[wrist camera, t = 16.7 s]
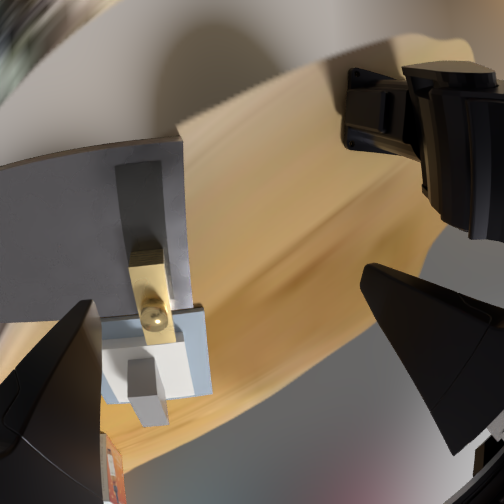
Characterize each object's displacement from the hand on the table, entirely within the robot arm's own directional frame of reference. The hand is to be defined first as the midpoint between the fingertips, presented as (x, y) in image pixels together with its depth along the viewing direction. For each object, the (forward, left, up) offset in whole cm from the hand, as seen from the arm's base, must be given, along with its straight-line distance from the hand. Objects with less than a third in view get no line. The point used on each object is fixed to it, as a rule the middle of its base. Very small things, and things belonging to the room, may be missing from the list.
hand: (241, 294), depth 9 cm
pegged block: (+3, +6, -9) cm, 11 cm away
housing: (+9, +2, -12) cm, 15 cm away
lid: (+6, +16, -12) cm, 21 cm away
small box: (+18, +34, -12) cm, 40 cm away
